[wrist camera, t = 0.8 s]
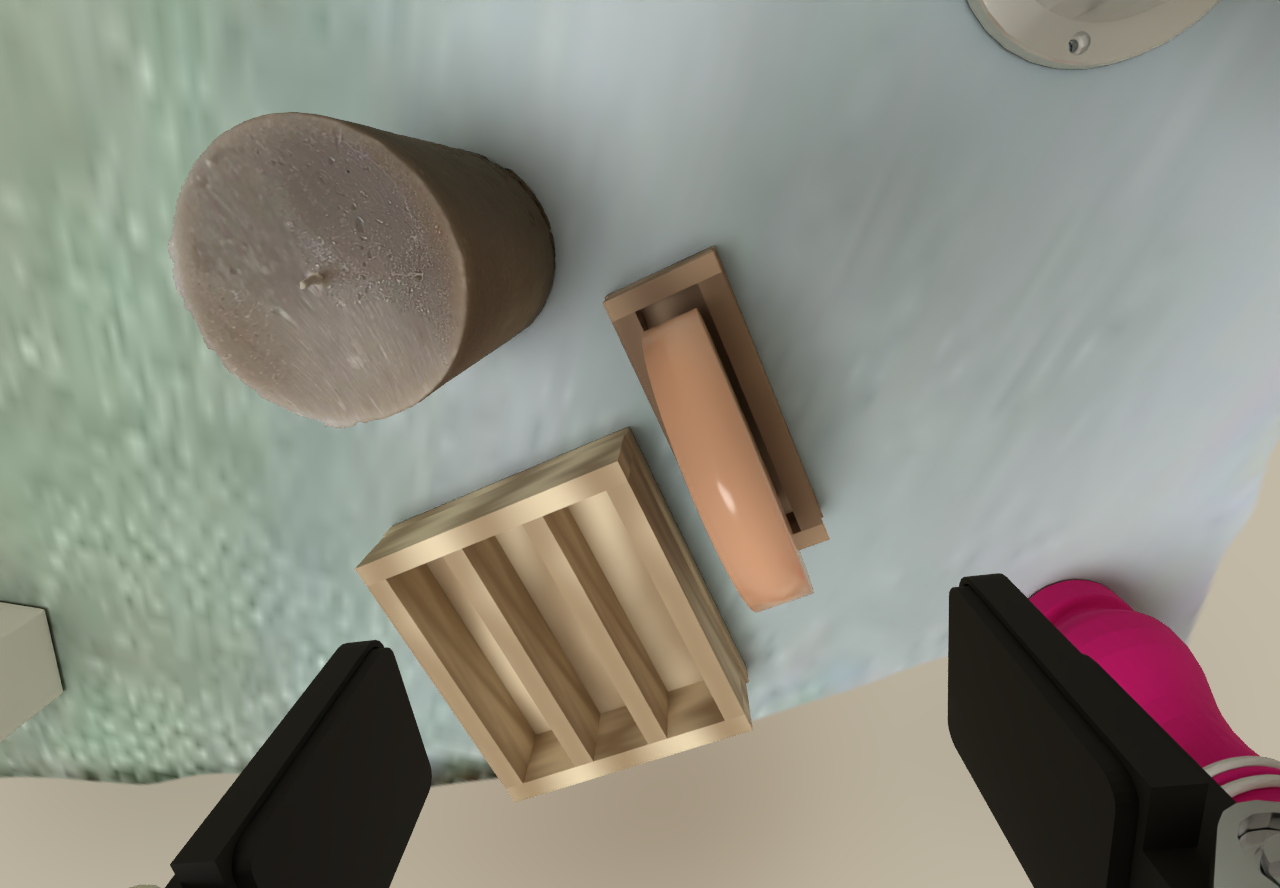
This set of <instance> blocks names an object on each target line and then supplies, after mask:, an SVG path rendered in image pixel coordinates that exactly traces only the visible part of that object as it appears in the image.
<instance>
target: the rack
mask: <svg viewBox="0 0 1280 888" xmlns="http://www.w3.org/2000/svg"><path fill="white" fill-rule="evenodd" d="M355 570H356V571H357V573H358V574H359V576H360V577H361V578H362V580H363V581H364V583H365V584H366V586H367V587H368V589H369V590H370V592H371V593H372V594H373V596H374V597H375V599H376V600H377V602H378V603H379V605H380V606H381V608H382V609H383V611H384V612H385V613H386V615H387V616H388V618H389V619H390V621H391V622H392V624H393V625H394V627H395V628H396V629H397V631H398V632H399V634H400V635H401V637H402V638H403V640H404V641H405V643H406V644H407V645H408V647H409V648H410V650H411V651H412V653H413V654H414V656H415V657H416V659H417V660H418V662H419V663H420V664H421V666H422V667H423V669H424V670H425V672H426V673H427V675H428V676H429V678H430V679H431V680H432V682H433V683H434V685H435V686H436V688H437V689H438V691H439V692H440V694H441V695H442V696H443V698H444V699H445V701H446V702H447V704H448V705H449V707H450V708H451V710H452V711H453V712H454V714H455V715H456V717H457V718H458V720H459V721H460V723H461V724H462V726H463V727H464V729H465V730H466V731H467V733H468V734H469V736H470V737H471V739H472V740H473V742H474V743H475V745H476V746H477V747H478V749H479V750H480V752H481V753H482V755H483V756H484V758H485V759H486V761H487V762H488V763H489V765H490V766H491V768H492V769H493V771H494V772H495V774H496V775H497V777H498V778H499V780H500V781H501V782H502V784H503V785H504V787H505V788H506V789H507V791H508V793H509V794H510V796H511V797H512V798H513V800H514V801H515V802H518V801H521V800H525V799H528V798H531V797H534V796H538V795H541V794H544V793H548V792H551V791H554V790H557V789H561V788H564V787H567V786H570V785H574V784H577V783H580V782H584V781H587V780H590V779H593V778H597V777H600V776H603V775H606V774H610V773H613V772H616V771H620V770H623V769H626V768H630V767H633V766H636V765H639V764H643V763H646V762H649V761H653V760H656V759H659V758H662V757H665V756H669V755H672V754H676V753H679V752H682V751H685V750H688V749H692V748H695V747H698V746H702V745H705V744H708V743H711V742H715V741H718V740H721V739H724V738H728V737H731V736H735V735H738V734H741V733H744V732H748V731H751V730H753V729H752V722H751V715H750V708H749V701H748V695H747V688H746V683H748V682H749V680H748V673H747V668H746V666H745V664H744V662H743V660H742V658H741V656H740V654H739V652H738V650H737V648H736V646H735V644H734V642H733V640H732V638H731V636H730V634H729V631H728V629H727V627H726V625H725V623H724V621H723V619H722V617H721V615H720V613H719V611H718V609H717V607H716V605H715V603H714V601H713V599H712V597H711V594H710V592H709V590H708V588H707V586H706V584H705V582H704V580H703V578H702V576H701V574H700V572H699V570H698V568H697V566H696V564H695V562H694V560H693V558H692V555H691V553H690V551H689V549H688V547H687V545H686V543H685V541H684V539H683V537H682V535H681V533H680V531H679V529H678V527H677V525H676V523H675V521H674V519H673V516H672V514H671V512H670V510H669V508H668V506H667V504H666V502H665V500H664V498H663V496H662V494H661V492H660V490H659V488H658V486H657V484H656V482H655V480H654V477H653V475H652V473H651V471H650V469H649V467H648V465H647V463H646V461H645V459H644V457H643V455H642V453H641V451H640V449H639V447H638V445H637V443H636V441H635V438H634V436H633V434H632V432H631V430H630V428H629V427H627V428H625V429H622V430H620V431H617V432H615V433H613V434H610V435H608V436H605V437H603V438H601V439H598V440H596V441H594V442H591V443H589V444H586V445H584V446H582V447H579V448H577V449H575V450H572V451H570V452H567V453H565V454H563V455H560V456H558V457H556V458H553V459H551V460H548V461H546V462H544V463H541V464H539V465H537V466H534V467H532V468H529V469H527V470H525V471H522V472H520V473H518V474H515V475H513V476H510V477H508V478H506V479H503V480H501V481H499V482H496V483H494V484H491V485H489V486H487V487H484V488H482V489H480V490H477V491H475V492H472V493H470V494H468V495H465V496H463V497H460V498H458V499H456V500H453V501H451V502H449V503H446V504H444V505H441V506H439V507H437V508H434V509H432V510H430V511H427V512H425V513H422V514H420V515H418V516H415V517H413V518H411V519H408V520H406V521H403V522H401V523H399V524H396V525H394V526H392V527H391V528H390V529H389V530H388V531H387V532H386V533H385V534H384V537H383V539H382V540H381V541H380V542H379V543H378V544H377V545H376V546H375V547H374V548H373V550H372V551H371V552H370V553H369V554H368V555H367V556H366V557H365V558H364V560H363V561H362V562H361V563H360V564H359V565H358V566H357V567H356V568H355Z"/></svg>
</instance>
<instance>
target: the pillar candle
mask: <svg viewBox="0 0 1280 888" xmlns="http://www.w3.org/2000/svg"><path fill="white" fill-rule="evenodd" d="M169 241H170V243H169V244H168V252H169V255H170V259H171V260H172V261H173V263H174V268H173V278H174V281H175V285H176V289H177V291H178V294H179V295H180V296H181V297H182V298H183V299H184V307H185V309H187V310H188V311H189V312H190V313H191V315H192V317H193V319H194V320H195V322H196V323H197V326H198V327H199V330H200V332H201V334H202V336H203V340H204V342H205V343H206V345H207V347H208V349H212V350H214V351H215V352H216V353H217V355H218V356H219V357H220V359H221V361H222V364H223V365H224V366H225V368H226V369H227V370H228V371H229V372H230V373H232V374H234V375H236V376H237V377H238V378H239V379H240V380H241V381H242V382H244V383H245V384H246V385H248V386H249V387H251V388H252V389H254V390H255V391H257V392H258V394H259V396H260V397H262V398H265V399H267V400H268V401H270V402H273V403H275V404H277V405H278V406H281V407H283V408H285V409H287V410H289V411H291V412H292V413H294V414H296V415H300V416H303V417H308V418H311V419H316V420H320V421H322V422H323V423H324V424H325V426H332V427H335V428H346V427H351V426H354V425H355V424H356V422H363V423H367V422H368V421H372V420H378V419H384V418H387V417H389V416H392V415H394V414H396V413H399V412H401V411H403V410H405V409H407V408H410V407H412V406H414V405H416V404H417V403H419V402H421V401H422V400H423V399H425V398H426V397H427V396H429V395H430V394H431V393H433V392H434V391H435V390H437V389H438V388H440V387H441V386H442V385H444V384H445V383H446V382H448V381H450V380H451V379H453V378H454V377H455V376H457V375H459V374H460V373H461V372H463V371H464V370H466V369H467V368H469V367H470V366H472V365H473V364H475V363H476V362H478V361H479V360H480V359H482V358H483V357H485V356H487V355H488V354H489V353H491V352H493V351H494V350H496V349H497V348H498V347H500V346H501V345H503V344H504V343H506V342H508V341H509V340H511V339H512V338H513V337H515V336H516V335H517V334H519V333H520V332H522V331H523V330H524V329H525V328H527V327H528V326H530V325H531V324H532V323H533V321H534V319H535V318H536V317H537V315H538V314H539V313H540V311H541V310H542V308H543V306H544V304H545V302H546V298H547V296H548V294H549V291H550V289H551V286H552V281H553V275H554V270H555V248H554V241H553V236H552V233H551V232H550V226H549V222H548V219H547V216H546V215H545V213H544V211H543V208H542V206H541V204H540V203H539V201H538V200H537V198H536V197H535V195H534V194H533V193H532V191H531V190H530V188H529V187H528V186H527V185H526V184H525V183H524V182H523V181H522V179H520V178H519V177H518V176H517V175H516V173H514V172H513V171H512V170H510V169H504V168H502V167H500V166H499V165H497V164H494V163H492V162H490V161H488V159H487V158H486V157H484V156H481V155H480V154H476V153H472V152H469V151H464V150H460V149H456V148H450V147H447V146H444V145H441V144H435V143H433V142H427V141H424V140H420V139H416V138H411V137H407V136H403V135H398V134H394V133H391V132H387V131H383V130H379V129H376V128H372V127H369V126H365V125H361V124H357V123H353V122H349V121H344V120H339V119H335V118H331V117H327V116H322V115H317V114H308V113H299V112H288V113H274V114H268V115H262V116H259V117H257V118H253V119H250V120H247V121H244V122H243V123H241V124H239V125H237V126H235V127H233V128H232V129H230V130H228V131H226V132H224V133H223V134H221V135H220V136H219V137H217V138H216V139H215V140H214V141H213V142H212V143H211V144H210V146H208V147H207V149H206V150H205V151H204V152H203V153H202V155H201V156H200V158H199V159H198V160H197V161H196V162H195V163H194V164H193V167H192V169H191V170H190V172H189V174H188V177H187V178H186V180H185V182H184V184H183V185H182V187H181V191H180V193H179V197H178V199H177V204H176V212H175V216H174V226H173V231H172V237H171V238H170V239H169Z"/></svg>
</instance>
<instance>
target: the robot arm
mask: <svg viewBox="0 0 1280 888" xmlns="http://www.w3.org/2000/svg"><path fill="white" fill-rule="evenodd" d="M967 1H968V4H969V6H970V8H971V10H972V11H973V13H974V14H975V16H976V17H977V18H978V20H979V21H980V23H981V24H982V26H983V27H984V29H985V30H986V31H987V32H988V33H989V34H990V35H991V36H992V37H993V38H994V39H996V40H997V41H998V42H999V43H1000V44H1001V45H1002V46H1003V47H1004V48H1005V49H1007V50H1009V51H1011V52H1012V53H1014V54H1016V55H1018V56H1020V57H1022V58H1023V59H1025V60H1027V61H1029V62H1033V63H1037V64H1040V65H1044V66H1048V67H1052V68H1059V69H1087V68H1093V67H1099V66H1105V65H1111V64H1114V63H1117V62H1120V61H1123V60H1126V59H1129V58H1132V57H1135V56H1138V55H1140V54H1143V53H1145V52H1147V51H1149V50H1151V49H1153V48H1155V47H1158V46H1160V45H1162V44H1164V43H1166V42H1168V41H1170V40H1171V39H1173V38H1174V37H1176V36H1177V35H1179V34H1180V33H1182V32H1183V31H1184V30H1186V29H1187V28H1189V27H1190V26H1192V25H1193V24H1195V23H1196V22H1198V21H1199V20H1200V19H1201V18H1202V17H1203V16H1204V15H1205V14H1206V13H1207V12H1208V11H1210V10H1211V9H1212V8H1213V7H1214V6H1215V5H1216V4H1217V3H1218V2H1219V1H1220V0H967ZM1069 42H1070V43H1071V44H1072V51H1071V52H1070V50H1069ZM948 659H949V660H948V726H949V731H950V735H951V738H952V741H953V743H954V745H955V748H956V749H957V751H958V753H959V755H960V756H961V758H962V760H963V762H964V764H965V765H966V767H967V769H968V771H969V772H970V774H971V776H972V778H973V780H974V781H975V783H976V785H977V787H978V788H979V790H980V792H981V794H982V796H983V797H984V799H985V801H986V802H987V805H988V806H989V808H990V810H991V812H992V813H993V815H994V817H995V819H996V821H997V822H998V824H999V826H1000V828H1001V830H1002V831H1003V833H1004V835H1005V837H1006V838H1007V840H1008V842H1009V844H1010V846H1011V847H1012V849H1013V851H1014V852H1015V854H1016V856H1017V858H1018V860H1019V862H1020V863H1021V865H1022V867H1023V868H1024V871H1025V872H1026V874H1027V876H1028V878H1029V879H1030V881H1031V883H1032V885H1033V887H1034V888H1280V802H1273V801H1262V800H1253V801H1246V802H1240V803H1237V802H1236V801H1235V800H1234V799H1233V798H1232V797H1231V796H1230V795H1229V794H1228V793H1227V792H1226V791H1225V790H1224V789H1223V788H1222V787H1221V786H1220V785H1219V784H1218V783H1217V782H1216V781H1215V780H1214V779H1213V778H1212V777H1211V776H1210V775H1209V774H1208V773H1207V772H1206V771H1205V770H1204V769H1203V768H1202V767H1201V766H1200V765H1199V764H1198V763H1197V762H1196V761H1195V760H1194V759H1193V758H1192V757H1191V756H1190V755H1189V754H1188V753H1187V752H1186V751H1185V750H1184V749H1183V748H1182V747H1181V746H1180V745H1179V744H1178V743H1177V742H1176V741H1175V740H1174V739H1173V738H1172V737H1171V736H1170V735H1169V734H1168V733H1167V732H1166V731H1165V730H1164V729H1163V728H1162V727H1161V726H1160V725H1159V724H1158V723H1157V722H1156V721H1155V720H1154V719H1153V718H1152V717H1151V716H1150V715H1149V714H1148V713H1147V712H1146V711H1145V710H1144V709H1143V708H1142V707H1141V706H1140V705H1139V704H1138V703H1137V702H1136V701H1135V700H1134V699H1133V698H1132V697H1131V696H1130V695H1129V694H1128V693H1127V692H1126V691H1125V690H1124V689H1123V688H1122V687H1121V686H1120V685H1119V684H1118V683H1117V682H1116V681H1115V680H1114V679H1113V678H1112V677H1111V676H1110V675H1109V674H1108V673H1107V672H1106V671H1105V670H1104V669H1103V668H1102V667H1101V666H1100V665H1099V664H1098V663H1097V662H1096V661H1094V660H1093V659H1092V658H1091V657H1089V656H1088V655H1085V654H1082V653H1081V652H1080V651H1079V650H1078V649H1077V648H1076V647H1075V646H1074V645H1073V644H1072V643H1071V642H1070V641H1069V640H1068V639H1067V638H1066V637H1065V636H1064V635H1063V634H1062V633H1061V632H1060V631H1059V630H1058V629H1057V628H1056V627H1055V626H1054V625H1053V624H1052V623H1051V622H1050V621H1049V620H1048V619H1047V618H1046V617H1045V616H1044V615H1043V614H1042V613H1041V612H1040V611H1039V610H1038V609H1037V608H1036V607H1035V606H1034V604H1033V603H1032V602H1031V601H1030V600H1029V599H1028V598H1027V597H1026V596H1025V595H1024V594H1023V593H1022V592H1021V591H1020V590H1019V589H1018V588H1017V587H1016V586H1015V585H1014V584H1013V583H1012V582H1011V581H1010V580H1009V579H1008V578H1007V577H1006V576H1004V575H1003V574H999V573H997V574H988V575H979V576H969V577H963V578H962V579H961V581H960V584H959V587H954V588H951V590H950V592H949V652H948ZM431 779H432V773H431V766H430V763H429V760H428V757H427V754H426V751H425V748H424V745H423V742H422V739H421V735H420V732H419V729H418V726H417V723H416V720H415V717H414V714H413V711H412V708H411V705H410V702H409V699H408V696H407V693H406V690H405V686H404V683H403V680H402V677H401V674H400V671H399V668H398V665H397V662H396V659H395V656H394V653H393V651H392V650H391V649H390V648H384V646H383V644H382V643H381V642H380V641H377V640H371V641H362V642H353V643H345V644H342V645H341V646H340V647H339V648H338V649H337V650H336V652H335V653H334V654H333V655H332V657H331V658H330V659H329V661H328V662H327V663H326V665H325V666H324V667H323V668H322V670H321V671H320V672H319V674H318V675H317V676H316V677H315V679H314V680H313V681H312V683H311V684H310V685H309V686H308V688H307V689H306V690H305V692H304V693H303V694H302V695H301V697H300V698H299V699H298V701H297V702H296V703H295V704H294V706H293V707H292V708H291V710H290V711H289V712H288V713H287V715H286V716H285V717H284V719H283V720H282V721H281V722H280V724H279V725H278V726H277V728H276V729H275V730H274V731H273V733H272V734H271V735H270V737H269V738H268V739H267V740H266V742H265V743H264V744H263V746H262V747H261V748H260V749H259V751H258V752H257V753H256V755H255V756H254V757H253V758H252V760H251V761H250V762H249V764H248V765H247V766H246V768H245V769H244V770H243V771H242V773H241V774H240V775H239V777H238V778H237V779H236V781H235V782H234V783H233V784H232V786H231V787H230V788H229V789H228V791H227V792H226V794H225V795H224V796H223V797H222V798H221V800H220V801H219V802H218V804H217V805H216V806H215V808H214V809H213V810H212V811H211V813H210V814H209V815H208V817H207V818H206V819H205V820H204V822H203V823H202V824H201V825H200V827H199V828H198V830H197V831H196V832H195V833H194V834H193V836H192V837H191V838H190V840H189V841H188V842H187V844H186V845H185V846H184V847H183V849H182V850H181V851H180V852H179V854H178V855H177V856H176V858H175V859H174V861H172V863H171V864H170V866H171V867H172V869H173V871H174V873H175V875H174V876H173V878H172V879H171V880H170V882H169V883H168V884H167V886H166V887H165V888H389V886H390V884H391V881H392V879H393V877H394V874H395V872H396V870H397V867H398V865H399V863H400V860H401V858H402V855H403V853H404V851H405V848H406V846H407V843H408V841H409V839H410V836H411V834H412V831H413V829H414V827H415V824H416V822H417V819H418V817H419V814H420V812H421V810H422V807H423V805H424V803H425V800H426V798H427V795H428V793H429V790H430V786H431ZM131 888H160V887H158V886H156V885H138V886H134V887H131Z"/></svg>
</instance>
